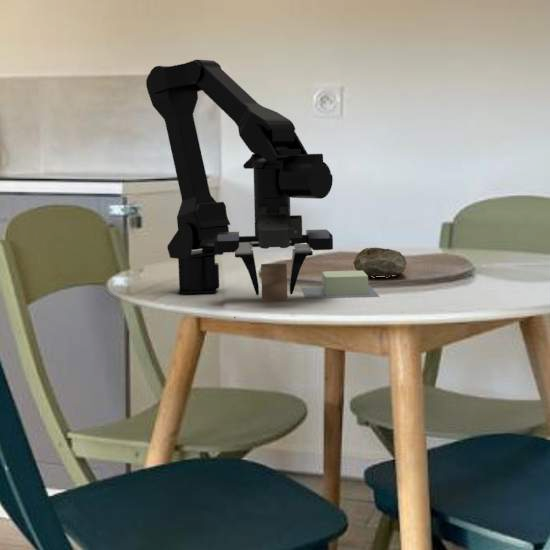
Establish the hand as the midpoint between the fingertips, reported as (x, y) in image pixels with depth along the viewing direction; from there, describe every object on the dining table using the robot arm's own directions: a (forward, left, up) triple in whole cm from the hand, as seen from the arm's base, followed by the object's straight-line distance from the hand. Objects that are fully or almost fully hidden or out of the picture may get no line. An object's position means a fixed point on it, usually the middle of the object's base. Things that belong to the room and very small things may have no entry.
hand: (274, 294), depth 150 cm
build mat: (+11, +6, -1) cm, 13 cm away
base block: (+12, +6, -1) cm, 13 cm away
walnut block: (0, 0, -1) cm, 1 cm away
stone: (+21, +23, -2) cm, 31 cm away
